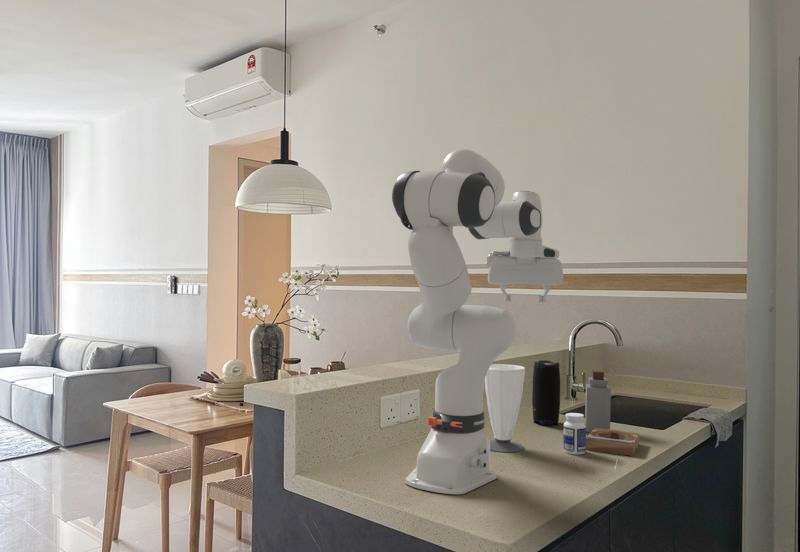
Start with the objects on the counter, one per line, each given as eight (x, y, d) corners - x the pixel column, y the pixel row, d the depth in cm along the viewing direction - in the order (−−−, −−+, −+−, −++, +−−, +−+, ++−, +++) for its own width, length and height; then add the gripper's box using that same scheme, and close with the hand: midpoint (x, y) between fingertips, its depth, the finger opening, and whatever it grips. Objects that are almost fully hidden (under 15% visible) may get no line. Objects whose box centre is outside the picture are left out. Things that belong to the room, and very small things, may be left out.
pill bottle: (583, 449, 161) (583, 412, 161) (587, 455, 156) (588, 417, 156) (561, 448, 162) (562, 411, 162) (565, 454, 156) (565, 416, 156)
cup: (509, 439, 170) (510, 363, 170) (533, 450, 160) (534, 368, 160) (473, 443, 166) (474, 364, 166) (495, 454, 155) (497, 370, 155)
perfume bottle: (586, 432, 180) (587, 372, 181) (585, 427, 187) (585, 369, 187) (610, 434, 179) (611, 373, 179) (607, 428, 185) (608, 370, 186)
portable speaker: (535, 426, 187) (535, 363, 187) (529, 419, 196) (530, 359, 196) (562, 427, 186) (563, 364, 187) (556, 420, 196) (556, 360, 196)
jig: (632, 456, 156) (632, 443, 156) (585, 449, 161) (585, 436, 161) (639, 444, 168) (639, 431, 168) (594, 438, 174) (594, 426, 174)
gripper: (488, 250, 162) (487, 301, 162) (565, 251, 161) (564, 303, 161) (486, 251, 169) (485, 301, 169) (560, 252, 168) (559, 302, 167)
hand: (524, 302), depth 165 cm, fingers open, 8 cm apart
